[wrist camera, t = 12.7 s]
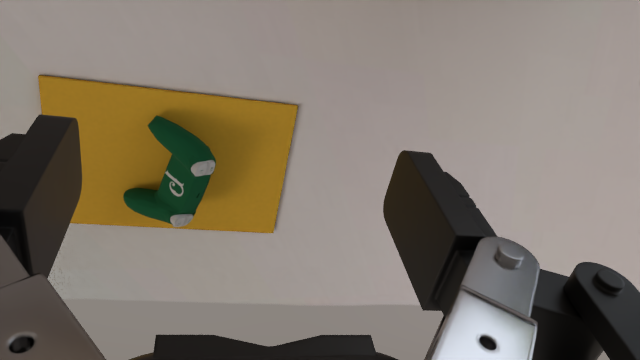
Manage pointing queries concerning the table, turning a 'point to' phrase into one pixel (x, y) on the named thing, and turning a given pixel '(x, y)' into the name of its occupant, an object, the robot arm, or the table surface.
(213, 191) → the cloth
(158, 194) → the gaming controller
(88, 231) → the table surface
